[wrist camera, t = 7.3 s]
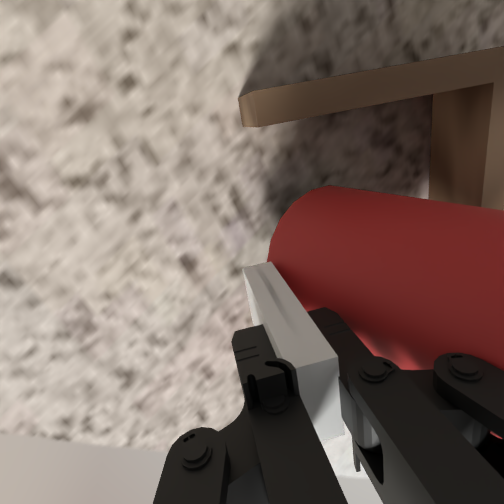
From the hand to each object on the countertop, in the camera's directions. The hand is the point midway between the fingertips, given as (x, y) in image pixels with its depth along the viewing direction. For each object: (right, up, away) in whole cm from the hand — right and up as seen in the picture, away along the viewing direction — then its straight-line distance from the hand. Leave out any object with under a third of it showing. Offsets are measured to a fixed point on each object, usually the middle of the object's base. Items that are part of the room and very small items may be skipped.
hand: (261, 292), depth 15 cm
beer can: (+3, +2, +2) cm, 4 cm away
